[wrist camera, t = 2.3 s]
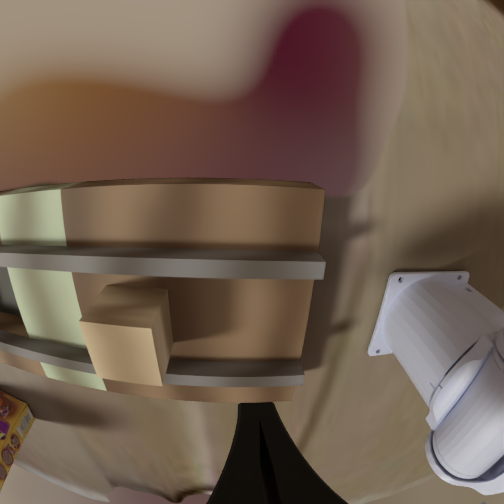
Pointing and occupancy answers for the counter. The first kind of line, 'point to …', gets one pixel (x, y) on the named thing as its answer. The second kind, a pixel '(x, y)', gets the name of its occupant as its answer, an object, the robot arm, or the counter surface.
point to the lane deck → (166, 278)
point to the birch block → (129, 334)
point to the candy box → (12, 430)
